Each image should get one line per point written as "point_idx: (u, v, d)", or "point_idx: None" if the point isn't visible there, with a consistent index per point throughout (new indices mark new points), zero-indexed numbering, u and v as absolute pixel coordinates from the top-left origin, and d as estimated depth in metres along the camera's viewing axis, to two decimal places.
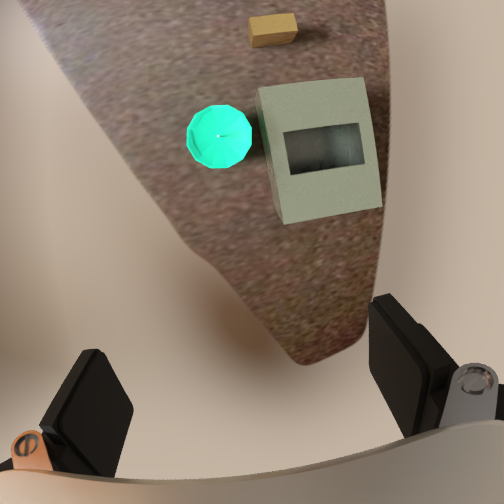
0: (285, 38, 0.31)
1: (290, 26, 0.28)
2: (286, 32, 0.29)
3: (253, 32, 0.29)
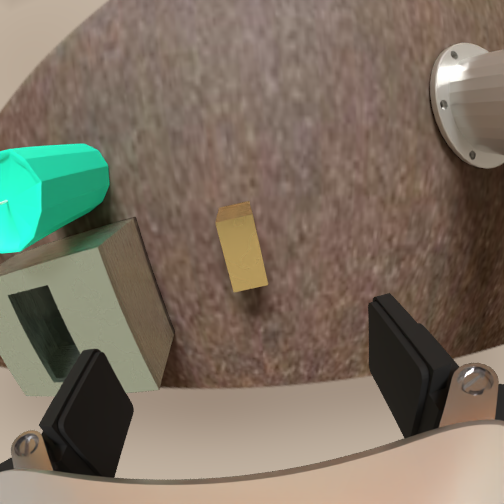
0: None
1: (240, 280, 0.22)
2: (229, 274, 0.22)
3: (222, 222, 0.20)
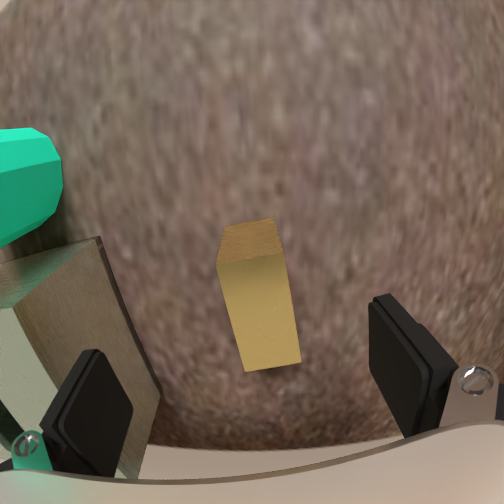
0: None
1: (256, 356, 0.13)
2: (238, 345, 0.13)
3: (228, 265, 0.11)
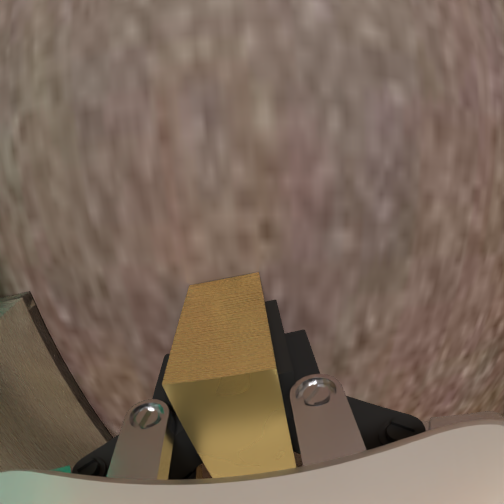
0: None
1: None
2: (210, 467, 0.08)
3: (182, 385, 0.06)
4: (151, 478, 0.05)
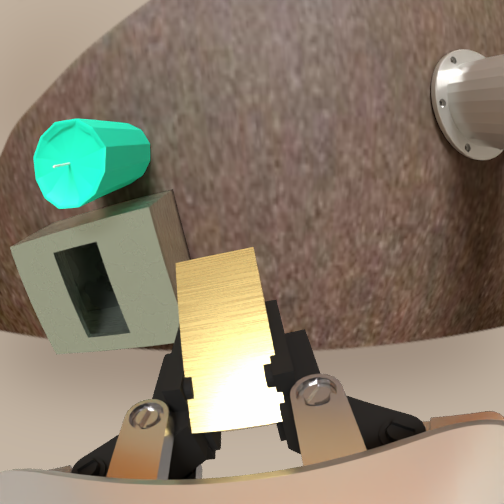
0: None
1: None
2: None
3: (208, 430, 0.07)
4: (151, 478, 0.05)
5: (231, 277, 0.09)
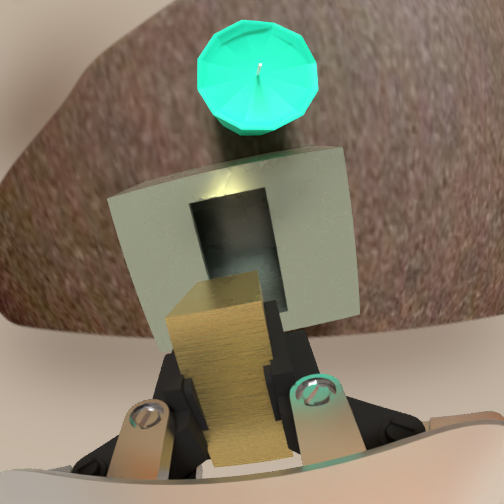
0: None
1: None
2: None
3: (227, 463, 0.08)
4: (151, 478, 0.05)
5: (236, 339, 0.08)
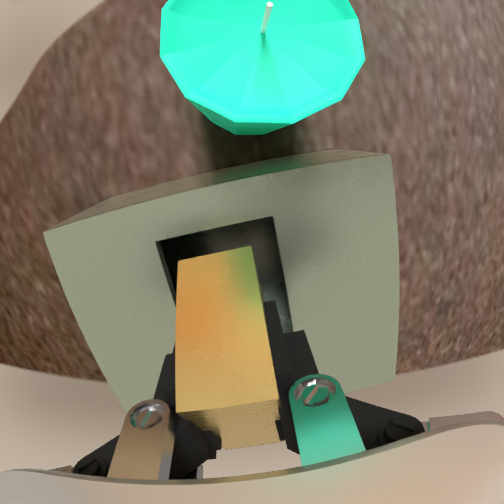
0: None
1: None
2: None
3: None
4: (152, 478, 0.05)
5: (250, 414, 0.07)
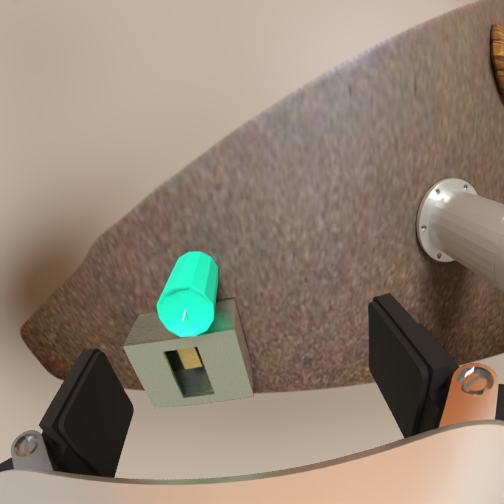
0: None
1: None
2: None
3: (188, 368, 0.40)
4: None
5: None
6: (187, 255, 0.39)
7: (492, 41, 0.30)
